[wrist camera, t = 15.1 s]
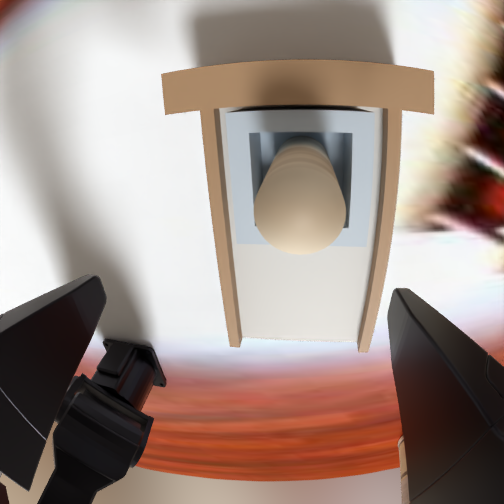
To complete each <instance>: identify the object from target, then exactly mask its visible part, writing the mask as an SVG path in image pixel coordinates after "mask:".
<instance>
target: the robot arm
mask: <svg viewBox="0 0 504 504" xmlns="http://www.w3.org/2000/svg"><path fill="white" fill-rule="evenodd" d="M105 304H106V294H105V291H104V288H103V285H102V282H101V279H100V278H99V276H97V275H86V276H83V277H81V278H79V279H76V280H74V281H72V282H70V283H68V284H65V285H63V286H61V287H59V288H56V289H54V290H52V291H50V292H48V293H46V294H43V295H41V296H39V297H37V298H35V299H33V300H31V301H28V302H26V303H24V304H22V305H20V306H18V307H16V308H14V309H12V310H10V311H7V312H5V313H4V314H1V315H0V477H1V475H2V473H3V474H4V475H6V476H7V477H8V478H10V479H11V480H13V481H14V482H15V483H17V484H18V485H19V486H21V487H22V488H24V489H25V490H27V491H29V490H30V488H31V485H32V482H33V478H34V476H35V473H36V469H37V467H38V464H39V461H40V457H41V455H42V452H43V449H44V447H45V444H46V440H47V438H48V435H49V433H50V430H51V428H52V425H53V423H54V421H55V422H57V423H58V425H57V427H56V428H55V430H54V432H53V440H52V445H53V457H54V467H55V469H54V471H53V473H52V475H51V477H50V479H49V481H48V483H47V485H46V487H45V489H44V491H43V493H42V495H41V497H40V499H39V501H38V503H37V504H92V502H93V499H94V497H95V495H96V493H97V492H98V491H100V490H102V489H103V488H105V487H107V486H109V485H111V484H113V483H114V482H116V481H118V480H120V479H121V478H123V477H124V476H125V475H126V473H127V471H128V469H129V467H131V468H133V467H134V466H135V465H136V464H137V462H138V461H139V459H140V457H141V456H142V454H143V451H144V449H145V446H146V443H147V440H148V437H149V433H150V430H151V427H152V424H153V420H154V418H153V417H151V416H147V415H146V414H144V413H142V412H141V410H142V408H143V405H144V403H145V401H146V399H147V397H148V395H149V393H150V391H151V389H152V387H153V385H155V386H160V387H165V386H166V384H167V383H166V381H165V378H164V376H163V373H162V371H161V368H160V366H159V364H158V361H157V358H156V356H155V353H154V351H153V349H152V348H150V347H146V346H140V345H135V344H129V343H124V342H119V341H114V340H109V339H105V340H104V341H103V345H104V347H105V349H106V351H107V352H106V354H105V355H104V357H103V358H102V360H101V361H100V363H99V365H98V366H97V371H96V372H95V374H94V375H93V377H92V379H91V380H90V379H89V378H87V376H86V375H85V374H83V373H82V375H81V376H79V377H78V376H74V374H75V372H76V370H77V368H78V366H79V364H80V362H81V359H82V357H83V355H84V353H85V351H86V349H87V347H88V345H89V343H90V341H91V339H92V336H93V334H94V331H95V329H96V326H97V324H98V321H99V319H100V316H101V314H102V311H103V309H104V307H105ZM388 329H389V339H390V350H391V361H392V369H393V375H394V380H395V386H396V391H397V397H398V403H399V410H400V416H401V423H402V430H403V438H404V446H405V455H406V465H407V477H408V490H409V502H410V503H409V504H504V367H503V366H502V365H501V364H500V363H499V362H498V361H496V360H495V359H494V358H493V357H492V356H491V355H488V353H487V352H486V351H485V350H484V349H483V348H481V347H480V346H479V345H478V344H477V343H476V342H474V341H473V340H472V339H471V338H470V337H468V336H467V335H466V334H465V333H464V332H462V331H461V330H460V329H459V328H458V327H456V326H455V325H454V324H453V323H451V322H450V321H449V320H448V319H447V318H445V317H444V316H443V315H442V314H440V313H439V312H438V311H437V310H435V309H434V308H433V307H432V306H430V305H429V304H428V303H426V302H425V301H424V300H423V299H421V298H420V297H419V296H417V295H416V294H415V293H414V292H412V291H411V290H410V289H408V288H396V289H394V291H393V293H392V297H391V302H390V306H389V310H388ZM73 376H74V377H73ZM0 504H9V500H8V496H7V491H6V486H4V485H3V484H2V483H1V482H0Z"/></svg>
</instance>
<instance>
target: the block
mask: <svg viewBox="0 0 504 504" xmlns="http://www.w3.org/2000/svg"><path fill="white" fill-rule="evenodd" d="M225 116H226V129H227V141H228V152H229V164H230V175H231V187H232V198H233V209H234V220H235V230H236V241H237V244H265V245H271V244H270V243H268V242H267V241H266V240H265V239H264V237H263V236H262V235H261V233H260V232H259V230H258V228H257V226H256V223H255V220H254V202H255V198H256V195H257V193H258V191H259V189H260V187H261V185H262V183H263V180H264V178H265V176H266V174H267V172H268V170H269V168H270V166H271V164H272V162H273V160H274V158H275V155H276V153H277V151H278V149H279V148H280V146H281V145H282V144H283V143H284V142H285V141H286V140H288V139H290V138H292V137H295V136H309V137H312V138H314V139H316V140H317V141H319V142H320V143H321V144H322V145H323V146H324V148H325V149H326V151H327V154H328V156H329V159H330V162H331V164H332V167H333V170H334V172H335V175H336V178H337V181H338V184H339V186H340V189H341V192H342V195H343V198H344V201H345V206H346V219H345V223H344V226H343V229H342V231H341V233H340V234H339V236H338V237H337V238H336V240H335V241H334V242H333V243H331V244H330V245H329V246H347V247H367V238H368V229H369V218H370V207H371V195H372V180H373V161H374V123H375V113H374V112H371V111H367V110H363V109H360V108H344V107H260V108H243V109H239V110H235V111H231V112H227V113H225Z"/></svg>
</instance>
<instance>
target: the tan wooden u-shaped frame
mask: <svg viewBox="0 0 504 504" xmlns="http://www.w3.org/2000/svg"><path fill="white" fill-rule="evenodd" d="M161 76H162V87H163V98H164V108H165V115H167V114H174V113H182V112H190V111H198V110H200V114H201V125H202V135H203V145H204V155H205V164H206V173H207V182H208V191H209V199H210V208H211V216H212V224H213V232H214V239H215V247H216V255H217V262H218V269H219V277H220V284H221V291H222V297H223V304H224V311H225V318H226V324H227V331H228V337H229V343H230V347H240V344H241V341H242V337H244V338H258V339H274V340H293V341H321V342H357V344H358V352H368V350H369V347H370V343H371V340H372V336H373V332H374V328H375V324H376V320H377V315H378V311H379V307H380V302H381V297H382V292H383V287H384V282H385V277H386V272H387V266H388V260H389V254H390V248H391V242H392V235H393V228H394V220H395V212H396V203H397V194H398V183H399V171H400V156H401V136H402V110H405V111H413V112H421V113H428V114H434V71H430V70H424V69H419V68H412V67H406V66H399V65H391V64H382V63H373V62H361V61H346V60H319V59H293V60H266V61H251V62H239V63H229V64H220V65H212V66H205V67H198V68H192V69H186V70H180V71H174V72H169V73H164V74H161ZM260 107H344V108H360V109H363V110H367V111H371V112H374V113H375V123H374V161H373V180H372V195H371V207H370V218H369V229H368V238H367V247H347V246H327V247H326V248H324V249H322V250H320V251H318V252H315V253H311V254H303V255H298V254H291V253H287V252H283V251H281V250H279V249H277V248H275V247H274V246H272V245H265V244H237V241H236V230H235V220H234V209H233V198H232V187H231V175H230V164H229V152H228V141H227V129H226V116H225V113H227V112H231V111H235V110H239V109H243V108H260Z"/></svg>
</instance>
